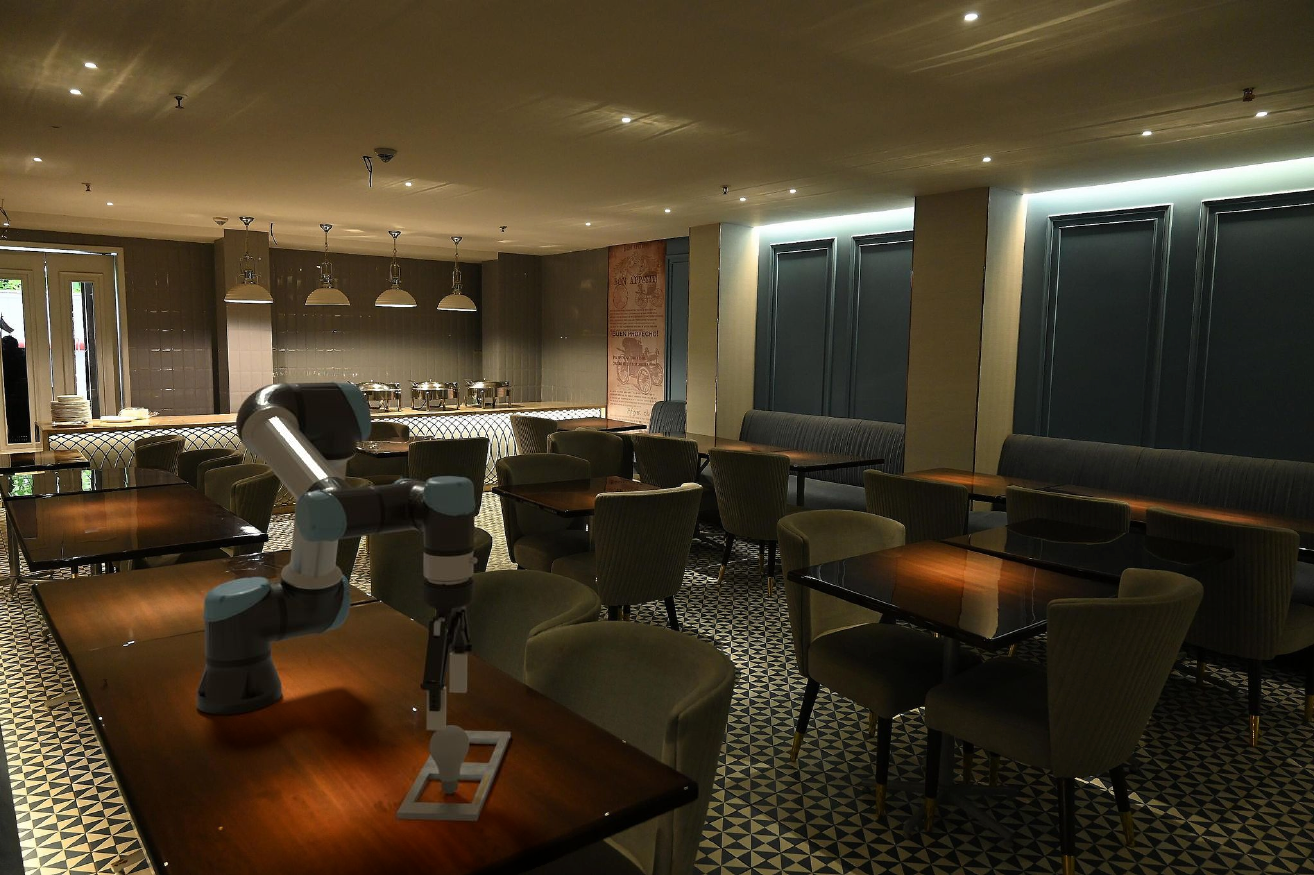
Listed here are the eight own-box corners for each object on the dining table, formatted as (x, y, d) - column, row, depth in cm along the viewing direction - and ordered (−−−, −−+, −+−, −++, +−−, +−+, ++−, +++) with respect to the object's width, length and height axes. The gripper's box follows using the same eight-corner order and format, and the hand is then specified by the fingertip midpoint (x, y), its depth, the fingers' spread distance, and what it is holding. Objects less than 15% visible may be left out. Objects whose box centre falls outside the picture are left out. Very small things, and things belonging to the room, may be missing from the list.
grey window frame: (396, 818, 128) (396, 812, 128) (444, 735, 156) (444, 729, 156) (476, 820, 128) (476, 814, 128) (510, 736, 156) (510, 731, 156)
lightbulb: (433, 784, 139) (433, 718, 138) (471, 783, 139) (471, 718, 138) (426, 803, 133) (425, 735, 132) (466, 803, 133) (466, 734, 132)
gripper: (453, 603, 120) (452, 748, 122) (489, 557, 145) (488, 678, 147) (399, 601, 120) (399, 746, 122) (445, 556, 145) (444, 677, 147)
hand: (447, 709), depth 135 cm, fingers open, 13 cm apart
